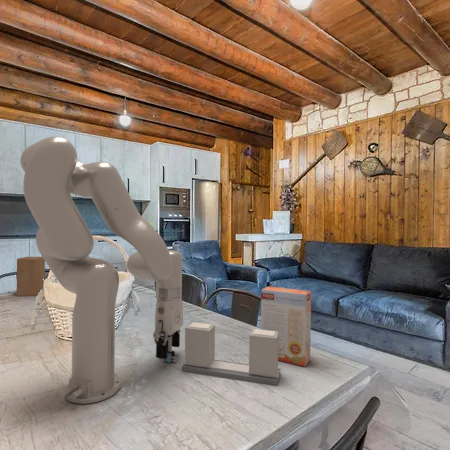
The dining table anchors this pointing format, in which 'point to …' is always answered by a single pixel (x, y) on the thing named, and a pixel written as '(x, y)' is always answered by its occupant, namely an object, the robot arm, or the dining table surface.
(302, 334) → the cracker box
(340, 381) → the dining table surface
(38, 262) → the wooden block
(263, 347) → the board
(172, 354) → the push button
